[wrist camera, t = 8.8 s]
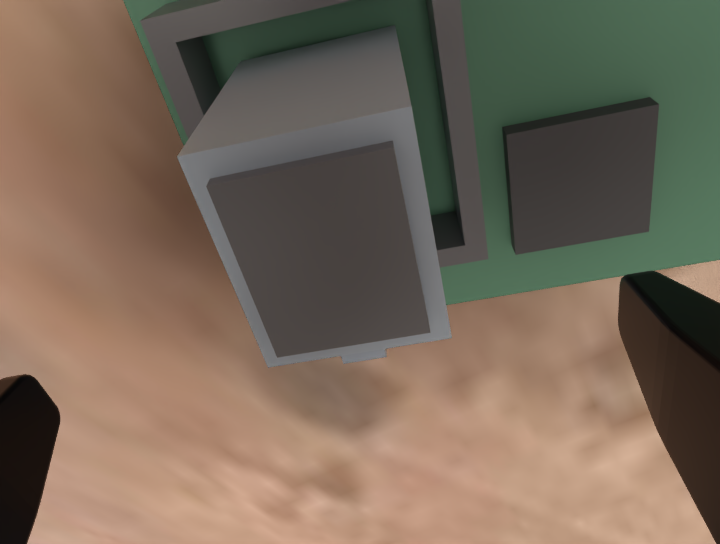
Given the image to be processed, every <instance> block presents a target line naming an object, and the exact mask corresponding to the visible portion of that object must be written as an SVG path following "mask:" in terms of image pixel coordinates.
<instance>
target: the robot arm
mask: <svg viewBox="0 0 720 544" xmlns="http://www.w3.org/2000/svg"><path fill="white" fill-rule="evenodd" d="M618 326H619V331H620V335H621V338H622V341H623V344H624V346H625V349H626V351H627V354H628V357H629V359H630V362H631V364H632V367H633V370H634V372H635V375H636V377H637V380H638V383H639V385H640V388H641V391H642V393H643V396H644V398H645V401H646V404H647V406H648V409H649V411H650V414H651V417H652V419H653V421H654V424H655V426H656V429H657V431H658V433H659V435H660V437H661V439H662V441H663V443H664V445H665V447H666V449H667V451H668V453H669V455H670V457H671V459H672V461H673V463H674V464H675V466H676V468H677V470H678V472H679V474H680V476H681V478H682V480H683V481H684V483H685V485H686V487H687V489H688V491H689V493H690V495H691V497H692V498H693V500H694V502H695V504H696V506H697V508H698V510H699V512H700V514H701V515H702V517H703V519H704V521H705V523H706V525H707V527H708V529H709V531H710V532H711V534H712V536H713V538H714V540H715V542H716V544H720V303H719V302H717V301H715V300H713V299H710V298H708V297H706V296H704V295H702V294H700V293H698V292H696V291H694V290H692V289H690V288H688V287H686V286H684V285H682V284H680V283H678V282H676V281H674V280H672V279H670V278H668V277H666V276H664V275H662V274H660V273H658V272H655V271H645V272H639V273H633V274H627V275H625V276H624V277H623V278H622V279H621V282H620V290H619V311H618ZM59 425H60V413H59V410H58V408H57V406H56V405H55V403H54V402H53V401H52V399H51V398H50V397H49V395H48V394H47V393H46V391H45V390H44V389H43V387H42V386H41V385H40V383H39V382H38V381H37V380H36V379H35V378H34V377H33V376H31V375H26V374H24V375H17V376H11V377H6V378H3V379H1V380H0V544H27V542H28V539H29V536H30V534H31V531H32V528H33V525H34V522H35V519H36V516H37V513H38V509H39V505H40V502H41V498H42V494H43V490H44V486H45V482H46V478H47V474H48V470H49V466H50V462H51V458H52V454H53V450H54V445H55V441H56V437H57V433H58V429H59Z"/></svg>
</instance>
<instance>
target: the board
mask: <svg viewBox="0 0 720 544" xmlns="http://www.w3.org/2000/svg"><path fill="white" fill-rule="evenodd" d="M123 1H124V3H125V6H126V8H127V10H128V13H129V15H130V18H131V20H132V22H133V25H134V27H135V30H136V32H137V35H138V37H139V39H140V42H141V44H142V47H143V49H144V51H145V54H146V56H147V59H148V61H149V63H150V66H151V68H152V71H153V73H154V75H155V78H156V80H157V83H158V85H159V87H160V90H161V92H162V95H163V97H164V99H165V102H166V104H167V107H168V109H169V111H170V114H171V116H172V119H173V121H174V123H175V126H176V128H177V131H178V133H179V135H180V138H181V140H182V143H183V145H185V144H186V142H187V141H188V137H187V135H186V133H185V130H184V128H183V125H182V123H181V120H180V118H179V115H178V113H177V111H176V108H175V106H174V103H173V101H172V98H171V96H170V93H169V91H168V89H167V86H166V84H165V81H164V79H163V76H162V74H161V71H160V69H159V66H158V64H157V62H156V59H155V57H154V54H153V52H152V49H151V47H150V44H149V42H148V40H147V37H146V35H145V32H144V30H143V27H142V25H141V22H140V20H142V19H143V18H145V17H146V16H148V15H149V14H151V13H152V12H154V11H156V10H157V9H159V8H160V7H162V6H163V5H165V4H168V3H172V2H176V1H180V0H123ZM460 3H461V12H462V21H463V30H464V39H465V48H466V57H467V67H468V76H469V85H470V94H471V103H472V112H473V122H474V131H475V140H476V149H477V158H478V167H479V176H480V186H481V195H482V204H483V213H484V222H485V231H486V241H487V250H488V259H487V260H481V261H475V262H470V263H464V264H458V265H452V266H447V267H441V268H440V272H441V278H442V284H443V290H444V295H445V301H446V305H450V304H456V303H462V302H468V301H474V300H480V299H486V298H492V297H498V296H504V295H510V294H516V293H522V292H528V291H534V290H540V289H546V288H552V287H558V286H564V285H570V284H576V283H582V282H588V281H594V280H600V279H607V278H613V277H619V276H625V275H627V274H633V273H639V272H645V271H655V270H661V269H667V268H673V267H679V266H685V265H691V264H697V263H703V262H709V261H715V260H720V0H460ZM393 25H395V27H396V32H397V37H398V42H399V47H400V52H401V57H402V62H403V67H404V71H405V76H406V81H407V86H408V91H409V96H410V101H411V106H412V111H413V117H414V123H415V129H416V134H417V140H418V146H419V152H420V157H421V163H422V169H423V175H424V180H425V186H426V192H427V198H428V203H429V209H430V215H431V216H432V215H437V214H442V213H448V212H453V211H456V210H455V202H454V195H453V188H452V181H451V174H450V167H449V160H448V152H447V145H446V138H445V131H444V124H443V117H442V110H441V103H440V95H439V88H438V81H437V74H436V67H435V60H434V53H433V46H432V38H431V31H430V24H429V17H428V10H427V3H426V0H351V1H347V2H343V3H339V4H334V5H330V6H326V7H322V8H318V9H313V10H309V11H305V12H301V13H297V14H292V15H288V16H284V17H280V18H276V19H272V20H267V21H263V22H259V23H255V24H251V25H246V26H242V27H238V28H234V29H230V30H225V31H221V32H217V33H213V34H209V35H204V36H202V39H203V42H204V45H205V48H206V51H207V53H208V56H209V59H210V62H211V65H212V67H213V70H214V73H215V76H216V79H217V81H218V84H219V87H220V90H222V88H223V87H224V85H225V84H226V82H227V81H228V79H229V78H230V76H231V75H232V73H233V72H234V70H235V69H236V67H237V66H238V64H239V63H240V61H244V60H248V59H253V58H257V57H261V56H265V55H270V54H274V53H278V52H282V51H287V50H291V49H295V48H300V47H304V46H308V45H312V44H317V43H321V42H325V41H329V40H334V39H338V38H342V37H346V36H351V35H355V34H359V33H363V32H368V31H372V30H376V29H380V28H385V27H389V26H393Z"/></svg>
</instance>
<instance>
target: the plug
mask: <svg viewBox="0 0 720 544" xmlns="http://www.w3.org/2000/svg"><path fill="white" fill-rule="evenodd" d="M177 158H178V160H179V163H180V165H181V167H182V170H183V172H184V174H185V177H186V179H187V181H188V184H189V186H190V188H191V191H192V193H193V195H194V197H195V200H196V202H197V204H198V207H199V209H200V211H201V214H202V216H203V218H204V221H205V223H206V225H207V228H208V230H209V232H210V234H211V237H212V239H213V241H214V244H215V246H216V248H217V251H218V253H219V255H220V258H221V260H222V262H223V265H224V267H225V269H226V272H227V274H228V276H229V278H230V281H231V283H232V285H233V288H234V290H235V292H236V295H237V297H238V299H239V302H240V304H241V306H242V309H243V311H244V313H245V315H246V318H247V320H248V322H249V325H250V327H251V329H252V332H253V334H254V336H255V339H256V341H257V343H258V346H259V348H260V350H261V352H262V355H263V357H264V359H265V362H266V364H267V366H268V368H269V367H275V366H281V365H287V364H294V363H300V362H306V361H312V360H318V359H325V358H331V357H337V356H341V358H342V361H343V364H345V363H352V362H358V361H364V360H370V359H377V358H383V357H387V352H386V349H387V348H393V347H399V346H405V345H412V344H418V343H424V342H430V341H437V340H443V339H449V338H452V336H451V330H450V324H449V318H448V313H447V307H446V301H445V295H444V290H443V284H442V278H441V272H440V267H439V261H438V255H437V249H436V244H435V238H434V232H433V226H432V221H431V215H430V209H429V203H428V198H427V192H426V186H425V180H424V175H423V169H422V163H421V157H420V152H419V146H418V140H417V134H416V129H415V123H414V117H413V111H412V106H411V101H410V96H409V91H408V86H407V81H406V76H405V71H404V67H403V62H402V57H401V52H400V47H399V42H398V37H397V32H396V27H395V25H393V26H389V27H385V28H380V29H376V30H372V31H368V32H363V33H359V34H355V35H351V36H346V37H342V38H338V39H334V40H329V41H325V42H321V43H317V44H312V45H308V46H304V47H300V48H295V49H291V50H287V51H282V52H278V53H274V54H270V55H265V56H261V57H257V58H253V59H248V60H244V61H240V63H239V64H238V66H237V67H236V69H235V70H234V72H233V73H232V75H231V76H230V78H229V79H228V81H227V82H226V84H225V85H224V87H223V88H222V90H221V91H220V93H219V94H218V96H217V97H216V99H215V100H214V102H213V103H212V105H211V106H210V108H209V109H208V111H207V112H206V114H205V115H204V117H203V118H202V120H201V121H200V123H199V124H198V126H197V127H196V129H195V130H194V132H193V133H192V135H191V136H190V138H189V139H188V141H187V142H186V144H185V145H184V147H183V148H182V150H181V151H180V153H179V154H178V156H177Z"/></svg>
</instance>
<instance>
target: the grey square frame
mask: <svg viewBox="0 0 720 544" xmlns="http://www.w3.org/2000/svg"><path fill="white" fill-rule="evenodd" d="M347 1H351V0H180V1H176V2H172V3H168V4H165V5H163V6H162V7H160V8H159V9H157V10H156V11H154V12H152V13H151V14H149V15H148V16H146V17H145V18H143V19H142V20H140V22H141V25H142V27H143V30H144V32H145V35H146V37H147V40H148V42H149V44H150V47H151V49H152V52H153V54H154V57H155V59H156V62H157V64H158V66H159V69H160V71H161V74H162V76H163V79H164V81H165V84H166V86H167V89H168V91H169V93H170V96H171V98H172V101H173V103H174V106H175V108H176V111H177V113H178V115H179V118H180V120H181V123H182V125H183V128H184V130H185V133H186V135H187V137H188V139H189V138H190V136H191V135H192V133H193V132H194V130H195V129H196V127H197V126H198V124H199V123H200V121H201V120H202V118H203V117H204V115H205V114H206V112H207V111H208V109H209V108H210V106H211V105H212V103H213V102H214V100H215V99H216V97H217V96H218V94H219V93H220V91H221V90H220V87H219V84H218V81H217V79H216V76H215V73H214V70H213V67H212V65H211V62H210V59H209V56H208V53H207V51H206V48H205V45H204V42H203V39H202V36H204V35H209V34H213V33H217V32H221V31H225V30H230V29H234V28H238V27H242V26H246V25H251V24H255V23H259V22H263V21H267V20H272V19H276V18H280V17H284V16H288V15H292V14H297V13H301V12H305V11H309V10H313V9H318V8H322V7H326V6H330V5H334V4H339V3H343V2H347ZM426 3H427V10H428V17H429V24H430V31H431V38H432V46H433V53H434V60H435V67H436V74H437V81H438V88H439V95H440V103H441V110H442V117H443V124H444V131H445V138H446V145H447V152H448V160H449V167H450V174H451V181H452V188H453V195H454V202H455V210H456V211H453V212H448V213H442V214H437V215H432V216H431V221H432V226H433V232H434V238H435V244H436V249H437V255H438V261H439V267H440V268H441V267H447V266H452V265H458V264H464V263H470V262H475V261H481V260H487V259H488V250H487V241H486V231H485V222H484V213H483V204H482V195H481V186H480V176H479V167H478V158H477V149H476V140H475V131H474V122H473V112H472V103H471V94H470V85H469V76H468V67H467V57H466V48H465V39H464V30H463V21H462V12H461V3H460V0H426Z"/></svg>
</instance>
